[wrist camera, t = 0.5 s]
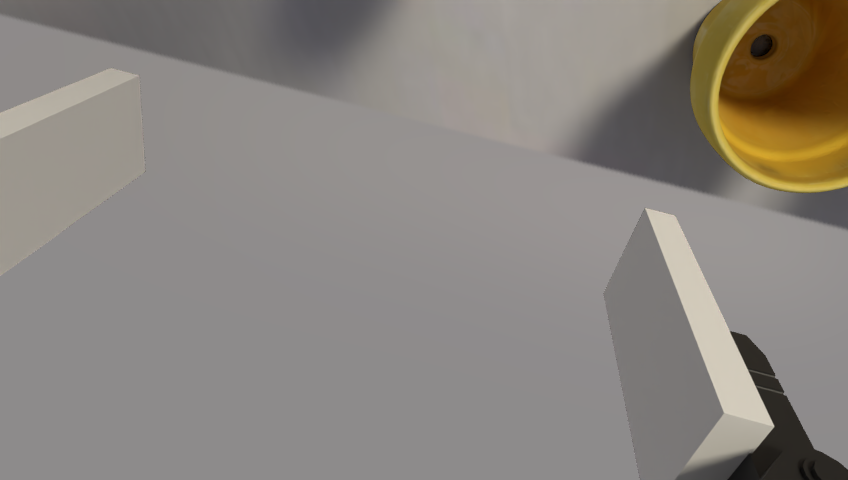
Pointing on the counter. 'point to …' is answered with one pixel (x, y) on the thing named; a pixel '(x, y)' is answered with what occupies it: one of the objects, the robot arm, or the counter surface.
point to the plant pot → (776, 91)
